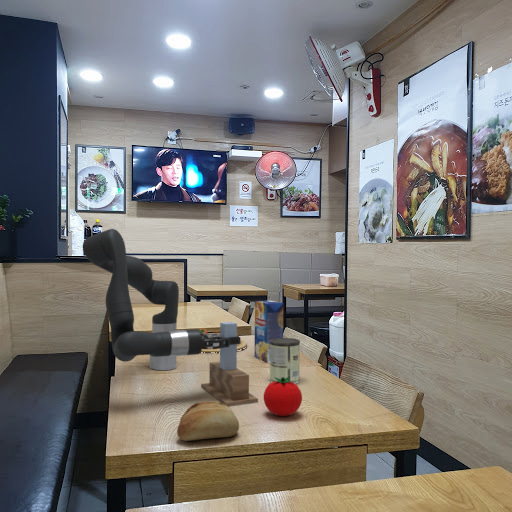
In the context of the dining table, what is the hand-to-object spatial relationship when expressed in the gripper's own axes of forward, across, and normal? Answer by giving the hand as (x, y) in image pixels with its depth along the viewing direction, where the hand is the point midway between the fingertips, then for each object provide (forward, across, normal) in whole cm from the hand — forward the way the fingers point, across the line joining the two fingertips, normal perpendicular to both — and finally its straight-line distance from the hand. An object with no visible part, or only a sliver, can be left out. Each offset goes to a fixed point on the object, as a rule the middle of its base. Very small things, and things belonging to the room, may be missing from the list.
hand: (236, 338), depth 146 cm
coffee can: (+21, +6, +17) cm, 28 cm away
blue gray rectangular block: (-3, 0, +9) cm, 9 cm away
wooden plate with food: (+20, +74, +18) cm, 79 cm away
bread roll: (-20, -30, +17) cm, 40 cm away
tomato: (+4, -24, +17) cm, 29 cm away
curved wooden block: (-3, 0, +17) cm, 17 cm away
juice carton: (+32, +39, +17) cm, 53 cm away
